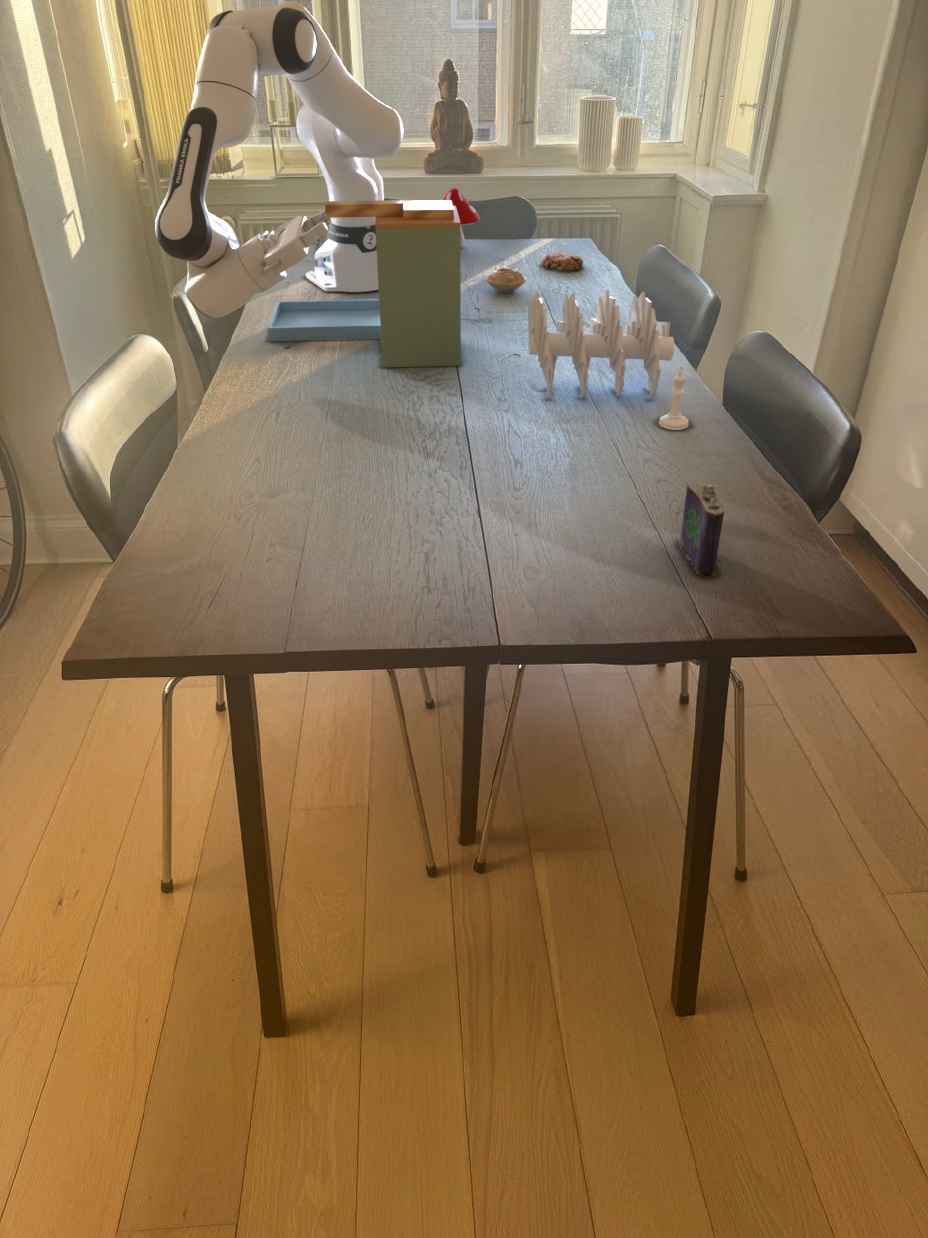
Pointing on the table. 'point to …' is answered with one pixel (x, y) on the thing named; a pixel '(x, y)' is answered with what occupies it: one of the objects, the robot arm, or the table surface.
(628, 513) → the table surface
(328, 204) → the paddle
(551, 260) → the cookie
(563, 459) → the table surface
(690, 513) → the flask
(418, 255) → the plinth
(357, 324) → the tray
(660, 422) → the chess piece
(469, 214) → the decorative mushroom
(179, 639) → the table surface
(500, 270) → the pottery oil lamp
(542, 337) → the spiral staircase
